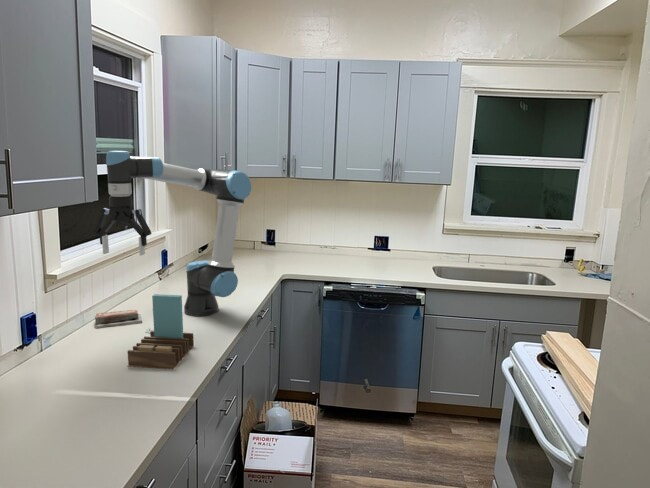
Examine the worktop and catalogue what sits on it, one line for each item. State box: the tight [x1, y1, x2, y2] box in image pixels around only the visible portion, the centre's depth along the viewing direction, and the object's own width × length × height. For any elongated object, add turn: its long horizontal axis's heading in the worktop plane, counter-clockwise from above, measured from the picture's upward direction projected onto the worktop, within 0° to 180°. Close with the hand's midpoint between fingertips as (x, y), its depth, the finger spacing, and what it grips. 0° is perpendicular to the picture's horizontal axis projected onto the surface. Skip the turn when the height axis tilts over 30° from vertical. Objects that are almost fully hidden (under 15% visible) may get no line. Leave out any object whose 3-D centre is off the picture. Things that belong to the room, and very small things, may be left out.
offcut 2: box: [155, 346, 172, 352], centre depth 160 cm, size 2×5×6 cm, turn 86°
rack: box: [126, 331, 195, 370], centre depth 166 cm, size 19×16×6 cm
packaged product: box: [94, 309, 143, 329], centre depth 200 cm, size 18×5×10 cm
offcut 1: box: [138, 345, 155, 351], centre depth 160 cm, size 2×5×6 cm, turn 85°
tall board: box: [151, 293, 184, 338], centre depth 171 cm, size 2×10×20 cm, turn 86°
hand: (124, 254), depth 172 cm, fingers open, 13 cm apart
